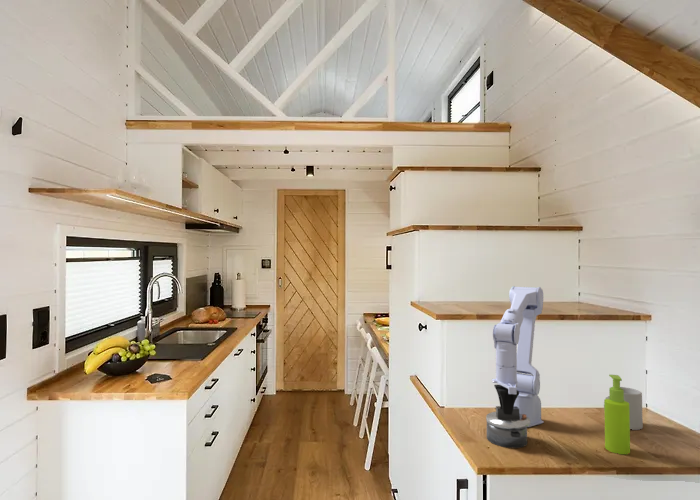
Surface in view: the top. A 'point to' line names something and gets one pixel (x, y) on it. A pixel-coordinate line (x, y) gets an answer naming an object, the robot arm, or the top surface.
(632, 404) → the mug
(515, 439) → the cooker pot
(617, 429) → the soap dispenser
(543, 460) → the top surface
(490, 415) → the cooker lid
